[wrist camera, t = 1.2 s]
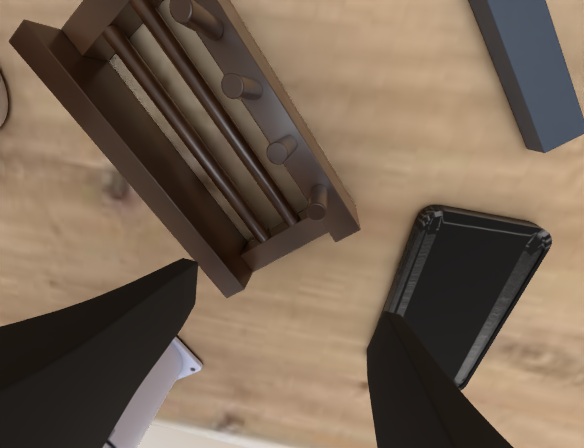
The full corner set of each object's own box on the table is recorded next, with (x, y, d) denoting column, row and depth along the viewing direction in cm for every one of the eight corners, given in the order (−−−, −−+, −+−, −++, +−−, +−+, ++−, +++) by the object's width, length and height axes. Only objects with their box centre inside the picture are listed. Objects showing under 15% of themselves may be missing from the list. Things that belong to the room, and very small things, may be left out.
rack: (244, 267, 22) (207, 332, 16) (75, 54, 18) (-72, 26, 11) (356, 205, 19) (366, 257, 13) (183, -76, 14) (62, -219, 8)
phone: (560, 231, 16) (460, 395, 23) (546, 224, 18) (455, 383, 24) (425, 207, 17) (364, 373, 23) (420, 201, 18) (362, 362, 24)
